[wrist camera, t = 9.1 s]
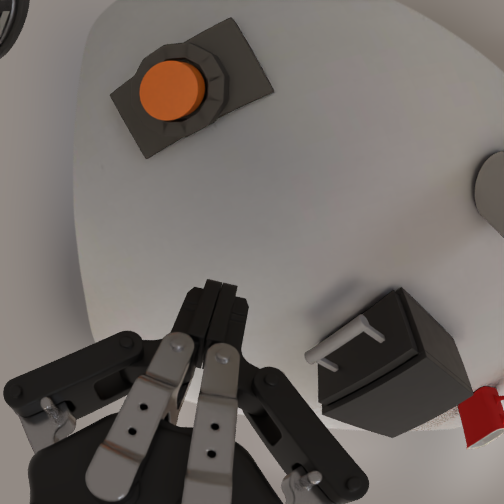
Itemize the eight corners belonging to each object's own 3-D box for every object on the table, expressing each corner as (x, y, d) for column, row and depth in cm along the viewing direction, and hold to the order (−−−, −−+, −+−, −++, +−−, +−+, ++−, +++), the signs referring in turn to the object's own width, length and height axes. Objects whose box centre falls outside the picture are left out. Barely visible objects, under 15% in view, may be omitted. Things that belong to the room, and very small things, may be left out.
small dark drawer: (290, 330, 32) (287, 389, 26) (368, 268, 26) (386, 327, 20) (380, 381, 36) (387, 428, 30) (445, 339, 31) (462, 387, 24)
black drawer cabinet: (320, 346, 34) (321, 414, 26) (401, 286, 28) (426, 357, 20) (384, 383, 38) (392, 437, 30) (453, 338, 32) (474, 394, 24)
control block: (152, 157, 24) (137, 167, 22) (115, 92, 21) (96, 95, 18) (275, 93, 20) (272, 94, 18) (233, 18, 17) (225, 10, 14)
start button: (166, 128, 20) (157, 132, 19) (140, 82, 18) (129, 83, 17) (215, 99, 19) (209, 101, 17) (188, 51, 17) (179, 48, 15)
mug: (472, 408, 43) (482, 447, 34) (453, 406, 42) (463, 449, 33) (511, 376, 36) (526, 416, 28) (496, 372, 36) (512, 417, 27)
